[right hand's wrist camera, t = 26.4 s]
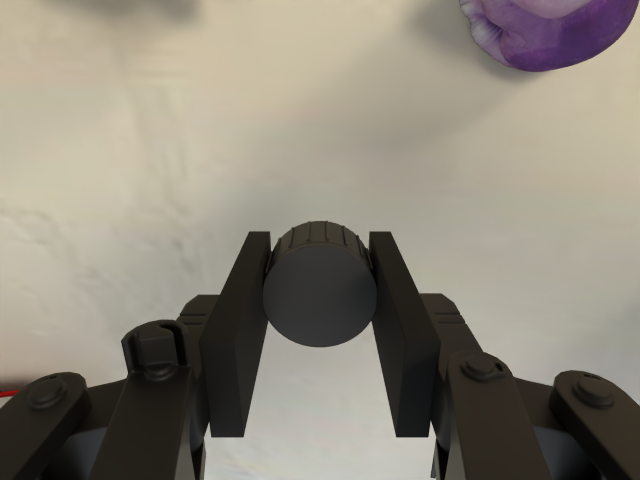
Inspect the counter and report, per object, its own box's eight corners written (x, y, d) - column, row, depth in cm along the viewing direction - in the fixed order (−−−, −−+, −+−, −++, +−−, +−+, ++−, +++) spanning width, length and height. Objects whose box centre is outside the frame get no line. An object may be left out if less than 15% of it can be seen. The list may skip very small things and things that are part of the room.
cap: (256, 230, 14) (245, 256, 12) (362, 209, 14) (370, 233, 12) (282, 319, 16) (275, 357, 13) (378, 302, 15) (387, 338, 13)
